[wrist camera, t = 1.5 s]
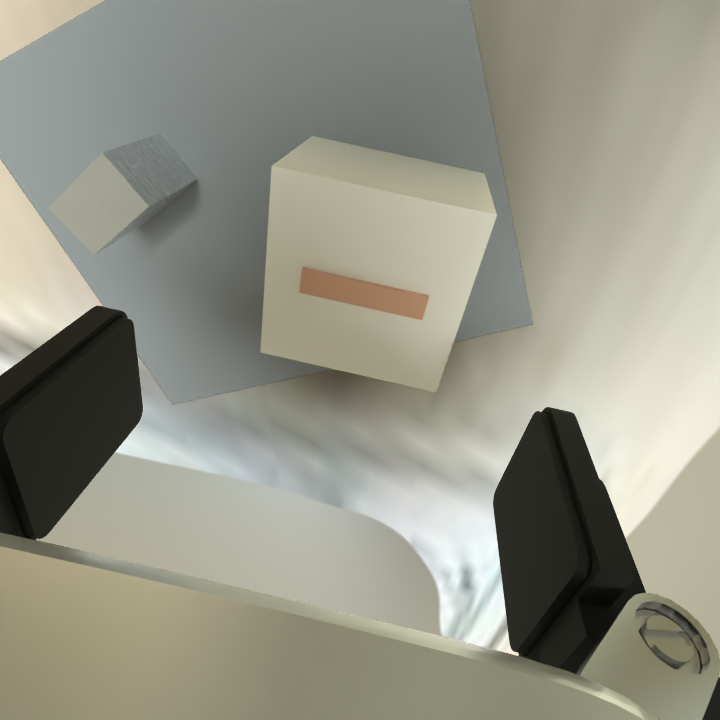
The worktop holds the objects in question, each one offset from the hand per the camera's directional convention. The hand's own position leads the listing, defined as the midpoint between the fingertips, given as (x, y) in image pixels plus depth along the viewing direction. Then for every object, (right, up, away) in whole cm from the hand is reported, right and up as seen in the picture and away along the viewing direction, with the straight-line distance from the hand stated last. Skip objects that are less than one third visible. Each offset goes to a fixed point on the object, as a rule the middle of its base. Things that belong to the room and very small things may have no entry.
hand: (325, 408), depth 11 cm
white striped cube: (+2, +6, +8) cm, 10 cm away
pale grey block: (-7, +8, +8) cm, 14 cm away
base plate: (-3, +8, +9) cm, 13 cm away
